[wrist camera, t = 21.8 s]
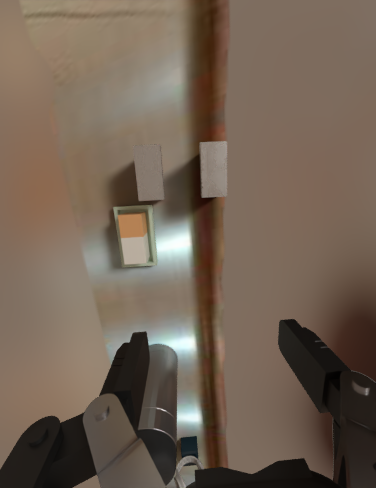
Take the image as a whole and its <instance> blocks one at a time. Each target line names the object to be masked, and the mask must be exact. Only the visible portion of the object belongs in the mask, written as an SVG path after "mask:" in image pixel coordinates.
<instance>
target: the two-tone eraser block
mask: <svg viewBox="0 0 376 488" xmlns="http://www.w3.org/2000/svg"><path fill="white" fill-rule="evenodd" d="M118 221H119V228H120V236H121V243H122V250H123V257H124V264H125V265H126V264H142V263H147V261H148V259H149V257H150V251H149V241H148V232H147V222H146V213H145V212H134V213H123V214H120V215H118Z"/></svg>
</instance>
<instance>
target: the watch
mask: <svg viewBox="0 0 376 488" xmlns="http://www.w3.org/2000/svg"><path fill="white" fill-rule="evenodd" d="M181 454H182V459H181V461H180V463H179V464H178V466H177V468H176V476H175V477H174V479H175V484H176V487H177V488H186V486H185V483H184V481H183V478H182V476H181V475H180V474H179V472H180V470H181V468H182V467H183V466H190V465H197V467H198V469H204V467H203V465H202V463H201V462H200V460H199V459H198V448H197V436H194V437H184V438H181Z"/></svg>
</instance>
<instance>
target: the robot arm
mask: <svg viewBox="0 0 376 488" xmlns="http://www.w3.org/2000/svg"><path fill="white" fill-rule="evenodd" d="M278 344H279V349H280V351H281V353H282V355H283V356H284V358H285V359H286V361H287V363H288V364H289V366H290V367H291V369H292V370H293V372H294V373H295V375H296V376H297V378H298V380H299V381H300V383H301V384H302V386H303V387H304V389H305V390H306V392H307V394H308V395H309V397H310V398H311V400H312V401H313V402H314V404H315V406H316V407H317V409H318V411H319V412H320V413H325V412H330V413H331V415H332V416H333V464H334V465H333V481H332V480H331V479H329V478H327V477H325V476H324V475H321V474H319V473H316V472H314V471H311V470H310V469H309V468H308V465H307V463H306V461H305V459H304V458H302V459H292V460H284V461H277V462H275V463H273V464H272V465H269V466H268V467H266V468H264V469H262V470H261V471H258V472H257V473H254V474H248V473H244V472H240V471H236V470H232V469H228V468H224V467H218V468H209V469H199V470H195V482H193V483H191V484H190V485H188V486H187V487H186V488H376V383H375V382H374V381H373V380H372V379H370V378H369V377H367V376H365V375H363V374H361V373H359V372H355V371H351V370H350V369H349V368H348V367H347V366H346V365H345V364H344V363H343V362H342V361H341V360H340V359H339V358H338V356H336V355H335V354H334V352H333V351H332V350H331V349H330V348H328V347H327V345H326V344H325V343H324V342H322V341H321V339H320V338H319V337H318V336H317V335H316V334H315V333H314V332H312V331H310V330H309V329H307V328H305V327H303V328H302V327H301V326H300V325H299V324H298V323H297V321H296V320H294V319H288V320H281V321H280V322H279V336H278ZM177 362H178V360H177V355H176V353H175V351H174V350H173V349H172V348H170V347H169V346H166V345H162V344H155V345H151V346H149V345H148V338H147V333H146V332H135V333H133V334H132V337H131V340H130V343H123V344H122V346H121V347H120V348H119V349H118V350H117V352H116V355H115V357H114V360H113V362H112V365H111V368H110V370H109V373H108V375H107V378H106V380H105V383H104V385H103V388H102V390H101V393H100V395H99V397H97V398H96V399H95V400H93V401H92V402H91V403H90V405H89V406H88V407H87V409H86V411H85V412H84V413H82V414H80V415H78V416H76V417H73V418H71V419H69V420H66V421H64V422H61V423H60V421H59V419H58V418H57V417H55V416H48V417H45V418H42V419H40V420H38V421H36V422H35V423H34V424H32V425H31V426H30V427H29V428H28V429H27V430H26V431H25V432H24V433H23V434H22V435H21V437H20V438H19V440H18V441H17V443H16V445H15V446H14V448H13V450H12V451H11V453H10V455H9V456H8V458H7V459H6V461H5V463H4V464H3V466H2V468H1V469H0V488H73V487H74V486H76V485H78V484H80V483H82V482H84V481H86V480H88V479H89V478H91V477H93V476H95V475H97V476H98V479H99V483H100V487H101V488H166V485H167V484H168V483H169V482H170V481H171V480H172V478H173V476H174V474H175V470H176V451H177V449H176V445H177Z"/></svg>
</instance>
